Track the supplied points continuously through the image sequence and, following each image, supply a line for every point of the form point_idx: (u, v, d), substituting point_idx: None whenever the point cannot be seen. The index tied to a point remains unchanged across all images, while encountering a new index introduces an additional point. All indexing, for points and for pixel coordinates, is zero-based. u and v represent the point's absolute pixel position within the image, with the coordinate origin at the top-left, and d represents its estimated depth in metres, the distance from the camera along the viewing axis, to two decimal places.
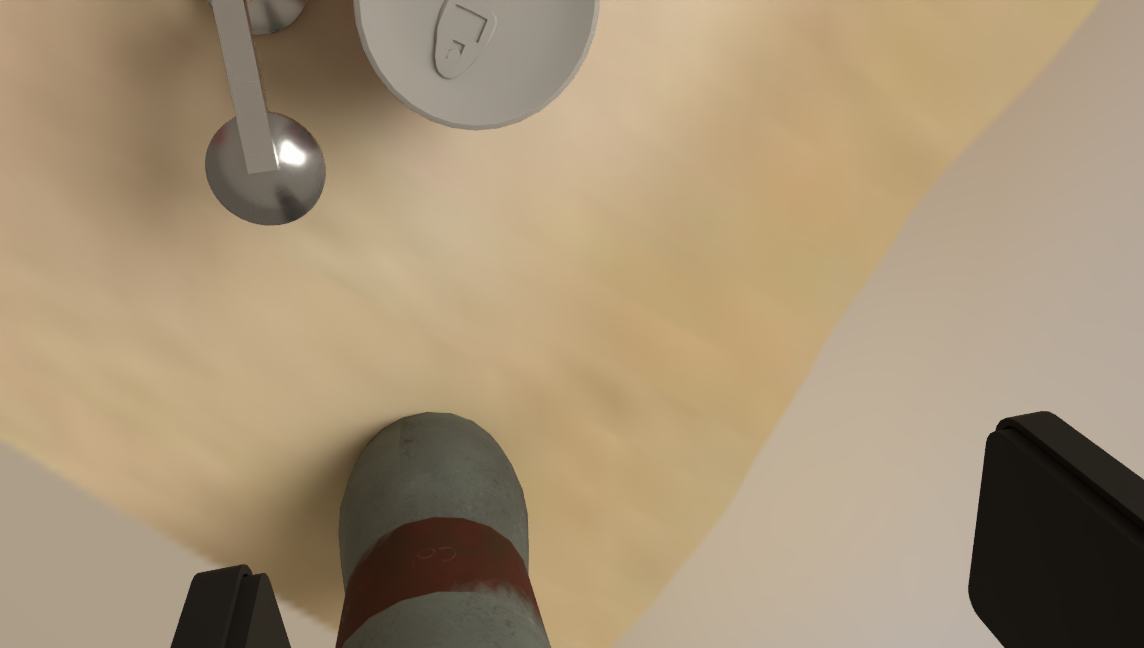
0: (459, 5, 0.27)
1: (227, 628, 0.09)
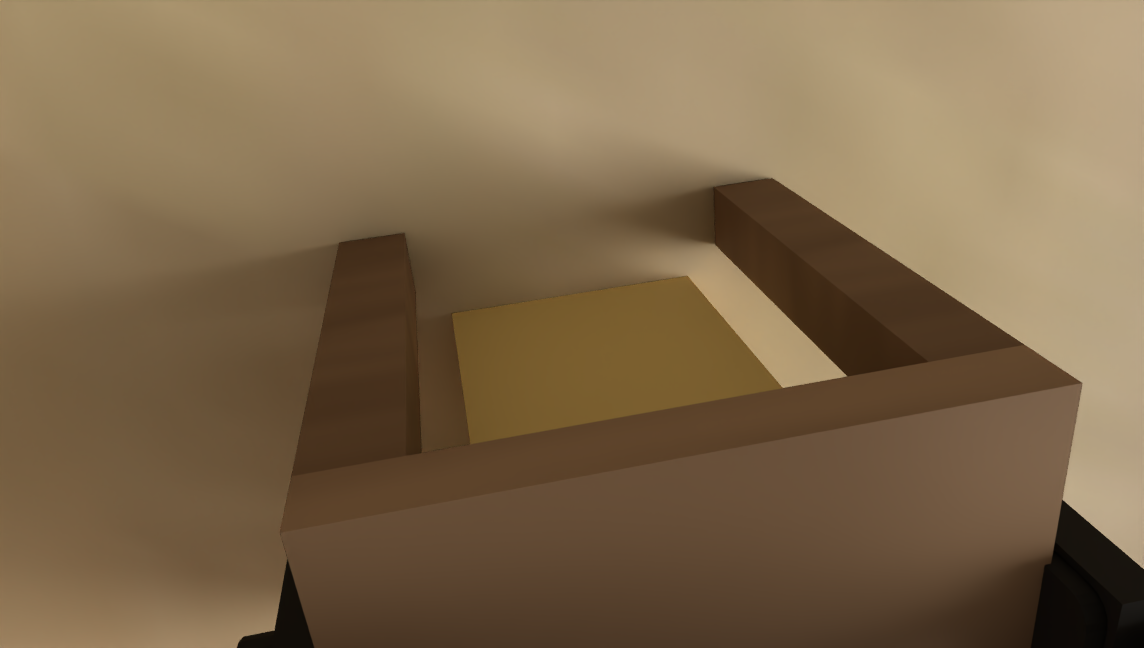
0: None
1: None
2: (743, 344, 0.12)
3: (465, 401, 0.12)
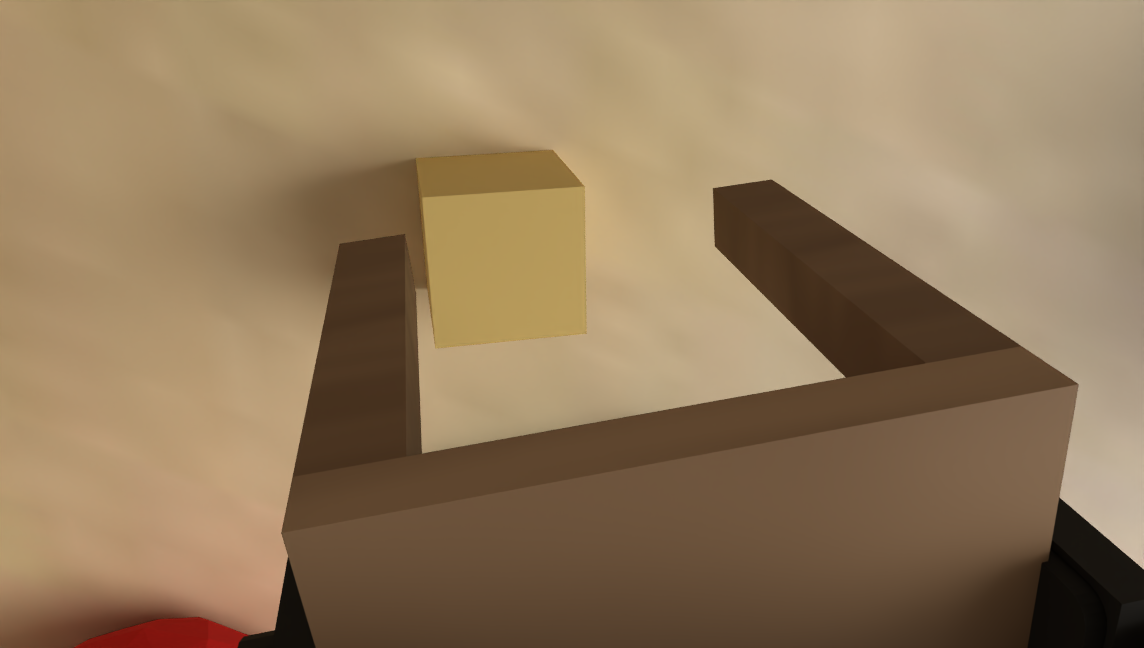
0: None
1: None
2: (570, 171, 0.23)
3: (420, 183, 0.22)
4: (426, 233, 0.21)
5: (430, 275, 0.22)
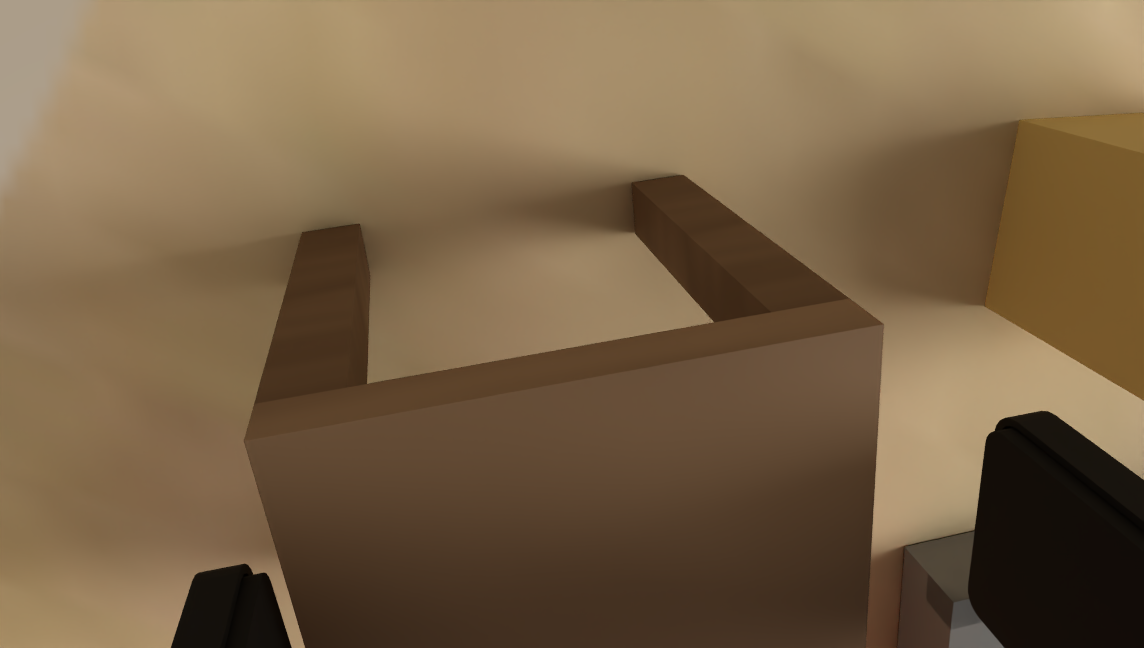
0: None
1: (227, 627, 0.09)
2: None
3: (1139, 151, 0.15)
4: None
5: None
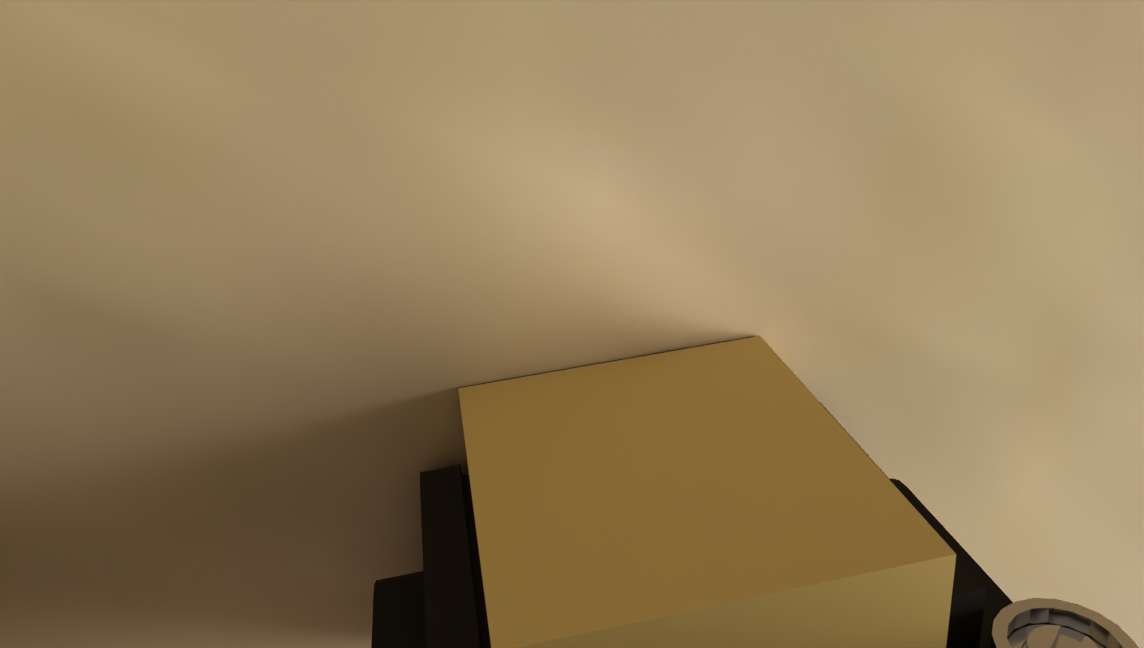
0: None
1: (464, 511, 0.10)
2: (858, 448, 0.09)
3: (478, 538, 0.08)
4: None
5: None
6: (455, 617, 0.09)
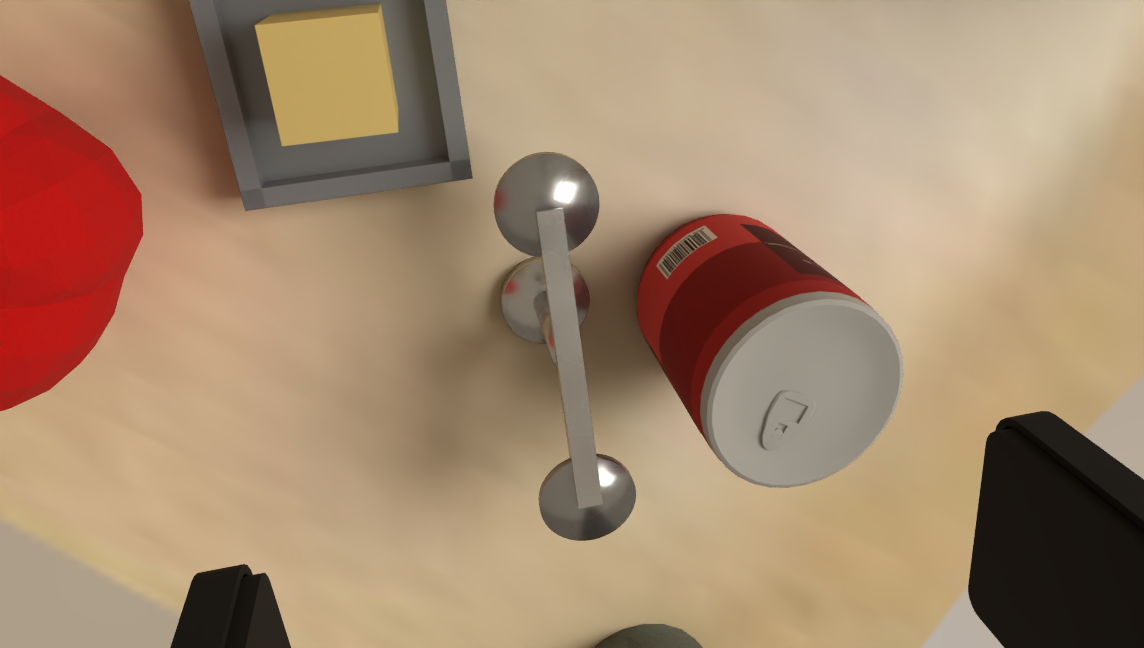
0: (788, 398, 0.32)
1: (227, 628, 0.09)
2: (378, 8, 0.30)
3: (261, 21, 0.30)
4: (262, 53, 0.29)
5: (269, 87, 0.29)
6: None
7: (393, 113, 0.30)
